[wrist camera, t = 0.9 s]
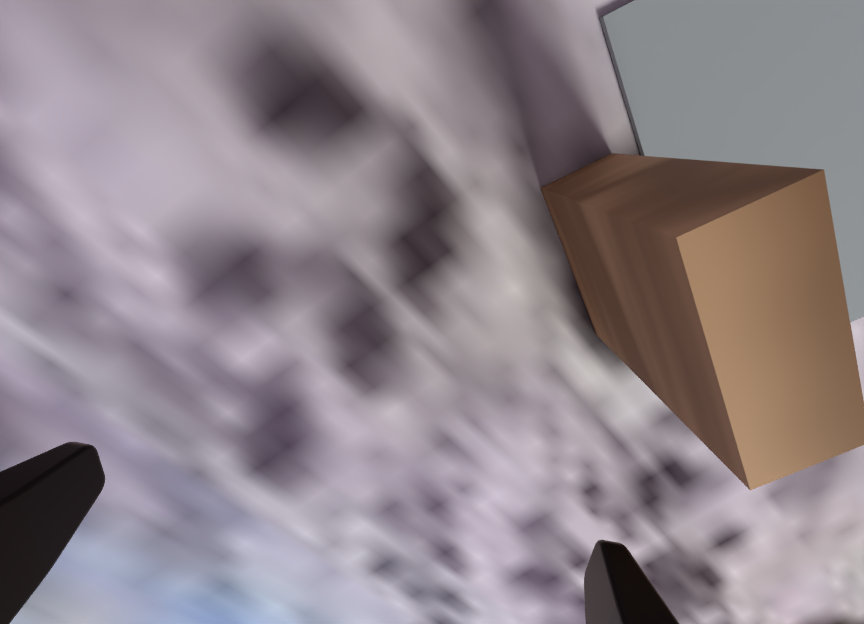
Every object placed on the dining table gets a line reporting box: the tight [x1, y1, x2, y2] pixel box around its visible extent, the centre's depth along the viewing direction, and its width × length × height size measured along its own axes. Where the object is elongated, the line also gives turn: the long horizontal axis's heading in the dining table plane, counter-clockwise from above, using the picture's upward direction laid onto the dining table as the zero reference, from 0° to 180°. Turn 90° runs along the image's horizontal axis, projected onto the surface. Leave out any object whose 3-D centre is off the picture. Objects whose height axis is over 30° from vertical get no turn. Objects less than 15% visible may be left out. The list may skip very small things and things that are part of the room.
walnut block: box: [541, 153, 864, 490], centre depth 15 cm, size 3×7×10 cm, turn 26°
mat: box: [600, 0, 864, 322], centre depth 19 cm, size 14×16×1 cm
